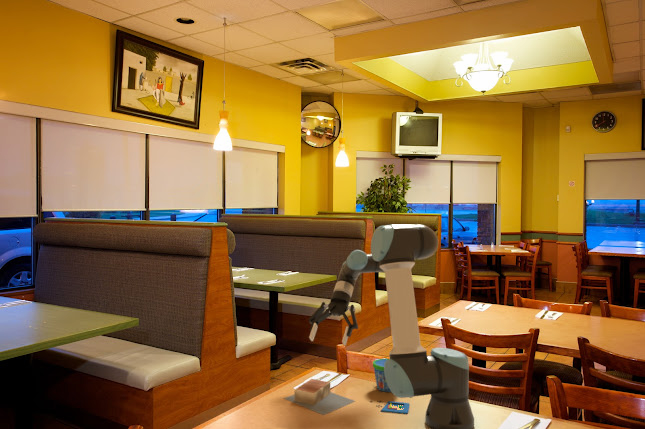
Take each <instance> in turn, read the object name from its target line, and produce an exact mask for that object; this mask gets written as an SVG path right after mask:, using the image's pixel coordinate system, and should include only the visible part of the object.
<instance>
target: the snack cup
mask: <svg viewBox="0 0 645 429" xmlns="http://www.w3.org/2000/svg"><path fill="white" fill-rule="evenodd" d="M388 359H389V358H379V359H375V360H374V361H372V367H373V370H374V376H375V383H376V388H377V389H378V390H379V391H380V392H384V393H392V392H391V390H390V389H389V387H388V385H387V382H386V379H385V374H384V367H385V366H384V364H385V362H386V361H387V360H388Z"/></svg>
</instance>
